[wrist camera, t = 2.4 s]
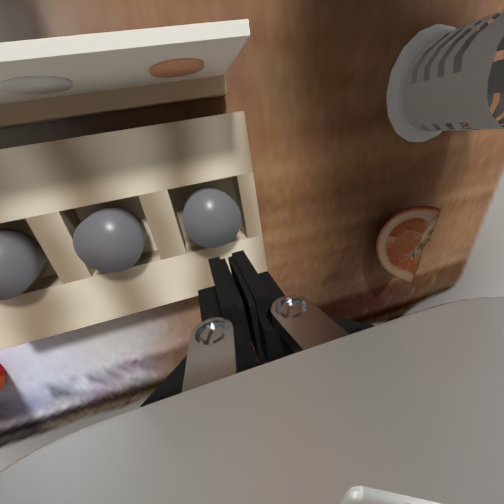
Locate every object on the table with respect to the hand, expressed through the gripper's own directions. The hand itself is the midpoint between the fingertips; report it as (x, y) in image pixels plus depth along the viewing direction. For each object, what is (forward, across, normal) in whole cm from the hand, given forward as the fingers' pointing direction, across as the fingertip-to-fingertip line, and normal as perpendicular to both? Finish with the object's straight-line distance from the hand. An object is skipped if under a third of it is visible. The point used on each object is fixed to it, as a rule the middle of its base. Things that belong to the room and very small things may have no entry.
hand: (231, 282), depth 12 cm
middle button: (+11, +7, -1) cm, 13 cm away
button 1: (+11, +15, -1) cm, 18 cm away
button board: (+13, +7, -1) cm, 15 cm away
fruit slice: (+14, -21, +7) cm, 26 cm away
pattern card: (+13, +7, -11) cm, 19 cm away
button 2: (+11, 0, -1) cm, 11 cm away
